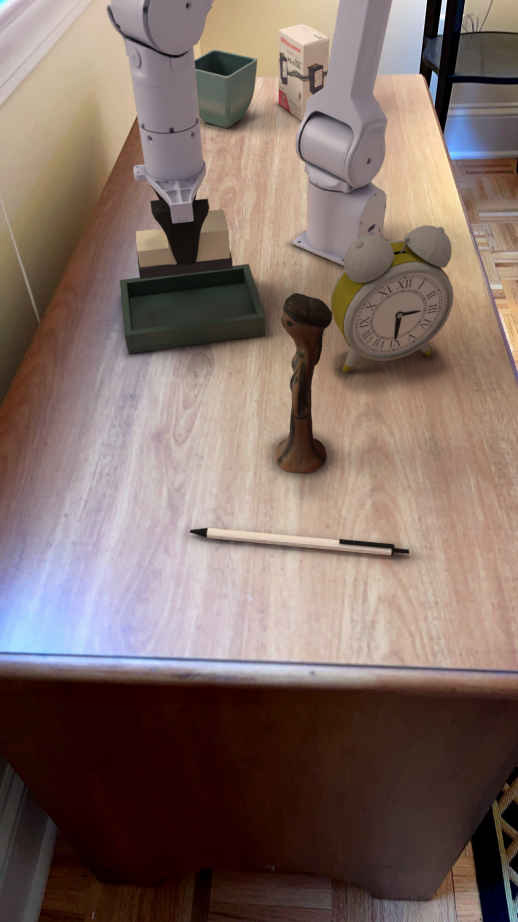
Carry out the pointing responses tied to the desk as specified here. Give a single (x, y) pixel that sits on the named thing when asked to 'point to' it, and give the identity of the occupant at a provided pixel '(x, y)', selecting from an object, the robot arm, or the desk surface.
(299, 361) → the figurine
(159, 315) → the dark green tray
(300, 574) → the desk surface
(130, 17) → the robot arm
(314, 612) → the desk surface
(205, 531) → the pen
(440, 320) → the alarm clock
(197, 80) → the flower pot
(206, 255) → the beige wooden block
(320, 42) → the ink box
